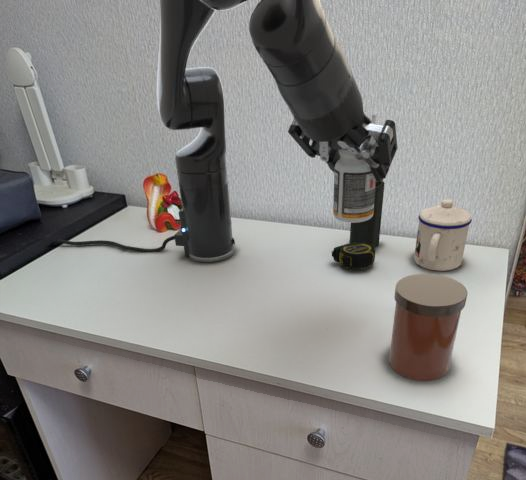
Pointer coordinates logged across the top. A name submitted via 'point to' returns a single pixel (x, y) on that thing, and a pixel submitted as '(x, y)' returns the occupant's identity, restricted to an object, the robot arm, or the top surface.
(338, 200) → the pill bottle
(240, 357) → the top surface
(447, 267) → the teacup with lid
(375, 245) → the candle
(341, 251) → the tape measure
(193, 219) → the robot arm
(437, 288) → the jar
